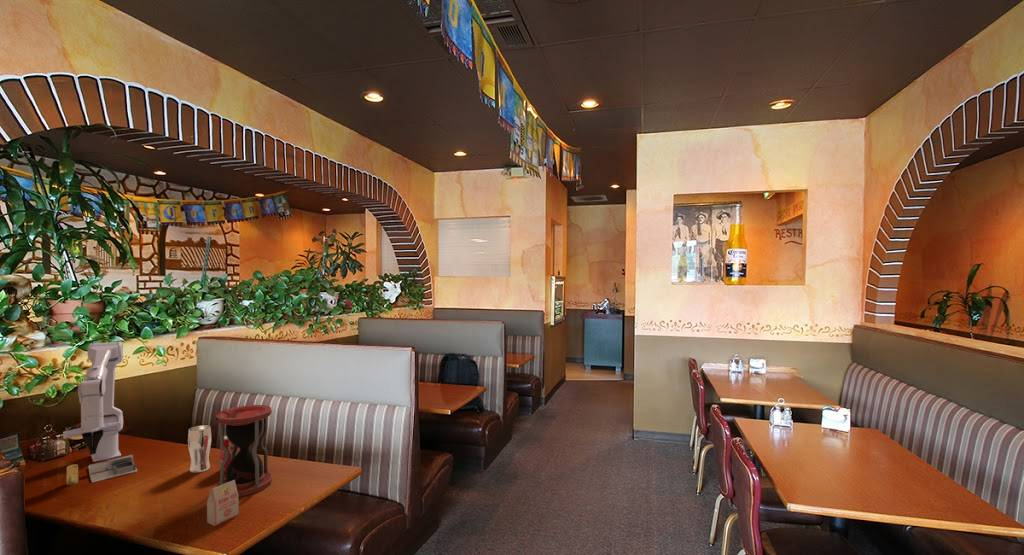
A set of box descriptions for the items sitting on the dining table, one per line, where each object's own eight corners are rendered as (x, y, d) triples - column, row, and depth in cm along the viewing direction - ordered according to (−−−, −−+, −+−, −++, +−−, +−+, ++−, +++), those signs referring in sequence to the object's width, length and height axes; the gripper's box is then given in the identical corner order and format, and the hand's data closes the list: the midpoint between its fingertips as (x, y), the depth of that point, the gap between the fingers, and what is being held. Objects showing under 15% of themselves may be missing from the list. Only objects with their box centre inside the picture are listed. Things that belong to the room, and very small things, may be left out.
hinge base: (89, 474, 162) (89, 465, 162) (133, 464, 170) (133, 455, 170) (91, 483, 155) (91, 472, 155) (137, 471, 164) (137, 462, 164)
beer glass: (202, 473, 163) (202, 431, 162) (183, 473, 163) (183, 431, 163) (215, 465, 170) (215, 424, 169) (197, 465, 170) (197, 424, 170)
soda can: (247, 465, 170) (247, 432, 170) (234, 473, 163) (233, 440, 163) (229, 464, 170) (229, 432, 170) (215, 472, 163) (215, 439, 163)
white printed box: (207, 522, 131) (206, 487, 131) (231, 511, 137) (230, 478, 137) (214, 526, 129) (214, 490, 129) (238, 514, 135) (238, 481, 135)
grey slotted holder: (88, 468, 167) (88, 458, 167) (130, 458, 176) (130, 449, 176) (90, 475, 161) (90, 465, 160) (134, 465, 169) (134, 455, 169)
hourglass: (255, 471, 165) (254, 401, 164) (282, 482, 156) (281, 408, 156) (206, 489, 151) (205, 413, 150) (233, 502, 142) (232, 422, 142)
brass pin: (66, 483, 155) (66, 466, 155) (78, 481, 157) (77, 463, 157) (67, 486, 153) (66, 468, 153) (78, 483, 155) (78, 466, 155)
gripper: (64, 421, 151) (64, 463, 151) (121, 412, 162) (121, 450, 162) (62, 417, 156) (62, 457, 156) (118, 408, 167) (118, 445, 167)
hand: (92, 453), depth 159 cm, fingers closed
